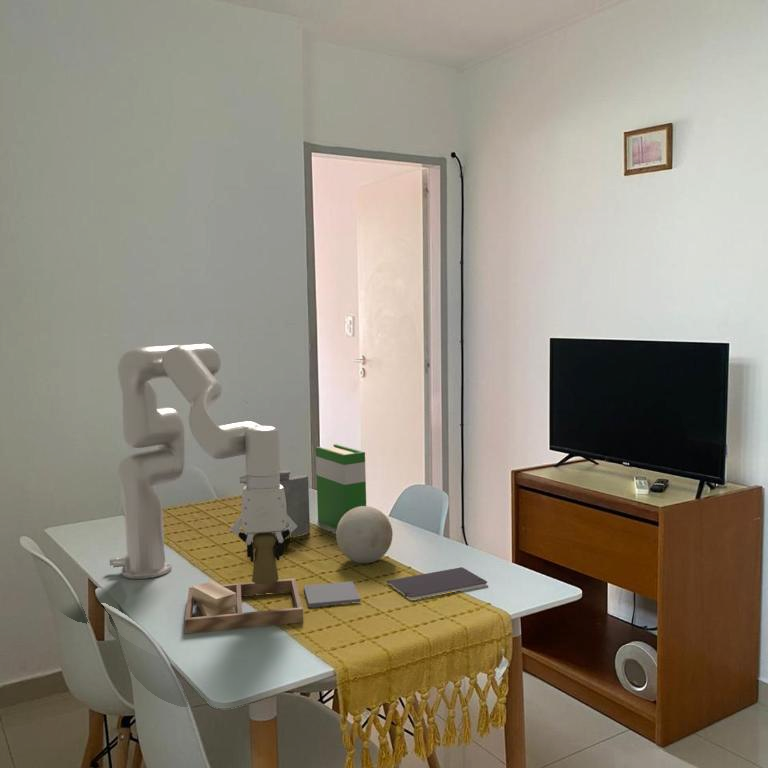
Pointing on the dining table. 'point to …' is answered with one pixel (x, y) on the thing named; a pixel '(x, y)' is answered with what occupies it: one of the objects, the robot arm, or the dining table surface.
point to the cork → (264, 559)
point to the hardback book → (339, 482)
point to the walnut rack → (248, 617)
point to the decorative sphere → (364, 534)
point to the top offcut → (214, 596)
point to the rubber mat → (331, 594)
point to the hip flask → (297, 501)
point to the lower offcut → (210, 612)
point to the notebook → (437, 583)
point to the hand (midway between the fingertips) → (264, 558)
